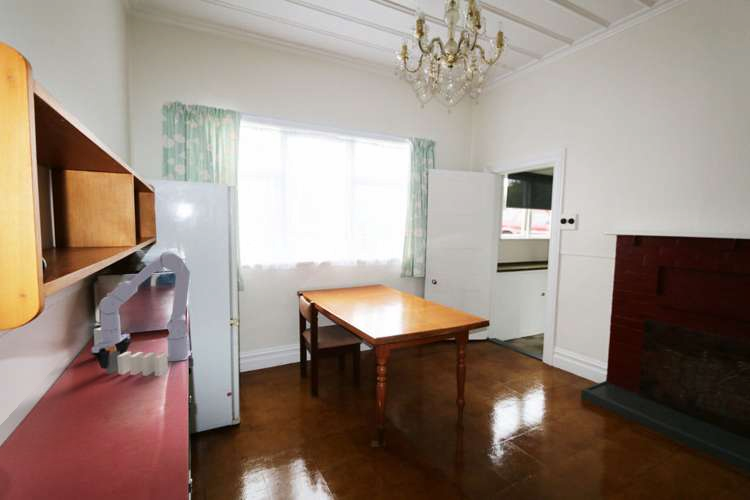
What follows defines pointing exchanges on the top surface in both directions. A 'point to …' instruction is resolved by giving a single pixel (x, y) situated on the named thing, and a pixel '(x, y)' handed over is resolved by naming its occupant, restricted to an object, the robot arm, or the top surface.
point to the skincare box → (99, 337)
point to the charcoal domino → (112, 362)
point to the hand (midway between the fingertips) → (113, 363)
